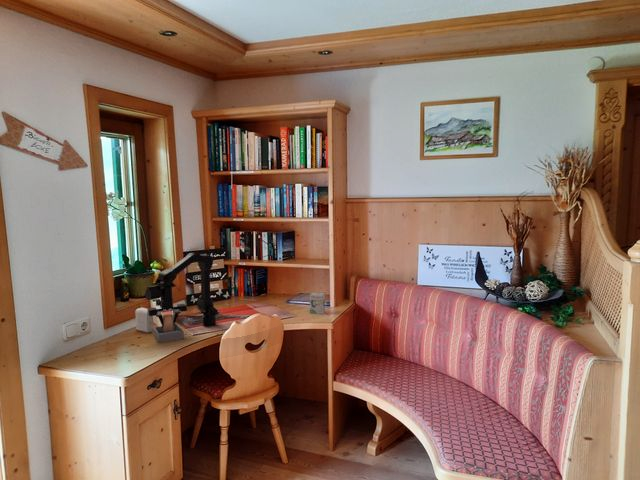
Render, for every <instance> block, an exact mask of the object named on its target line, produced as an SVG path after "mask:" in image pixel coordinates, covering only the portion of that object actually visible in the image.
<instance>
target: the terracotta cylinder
mask: <svg viewBox="0 0 640 480" xmlns="http://www.w3.org/2000/svg"><path fill="white" fill-rule="evenodd" d="M162 317H163V324H164V325H163V331H164V332H172V331H174V328H173V313H172V314H171V313H170V314H169V313H168V314H163V315H162Z"/></svg>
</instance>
